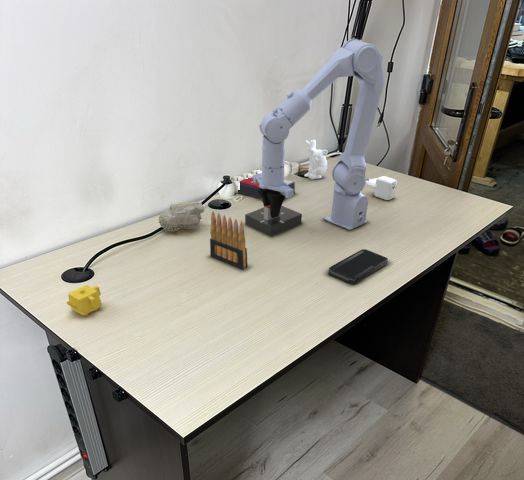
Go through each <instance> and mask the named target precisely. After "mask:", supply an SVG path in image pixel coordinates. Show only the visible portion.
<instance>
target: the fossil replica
mask: <svg viewBox="0 0 524 480" xmlns="http://www.w3.org/2000/svg"><path fill="white" fill-rule="evenodd" d="M204 212H205V206H204V205H203V203H202V202H199V201H191V202H188V201H187V202H184V201H183V202H179V203H178V202H177V203H171V204H170V206H169V209H166V210H165V211H163V212H162V213H161V214H160V215H159V216H158V224H159V226H160V227H161V228H162V229H163V230H165V231H166V232H168V233H169V232H172V233H174V232H178V231H181V230H182V229H185V230H188V231H189V230H195V229H197V228H198V227H199V226H200V224H201V220H202V216H201V214H203V213H204Z"/></svg>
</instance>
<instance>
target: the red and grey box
mask: <svg viewBox="0 0 524 480" xmlns="http://www.w3.org/2000/svg"><path fill="white" fill-rule="evenodd" d="M256 174H257V173H256ZM256 174H254V175H256ZM260 174H261V175H262V173H260ZM251 176H252V177H251ZM251 176H250V177H251V178H250V177H247V178H248V179H246V178H244V179H241V180H240V181H238V183H239V182H240V190H238V189H237V193H238V194H242V195H245V196H248V197H249V196H250V197H253V198H258V199H261V196H260V194H259V193H258V189H260V187H259V183H254V182H253V175H251ZM284 182H285V183H286V184H287V185H288V186H289V187H290V188H292V189H293V190H294V194H293V195H295V193H296V182H294V181H293V180H288V179H284Z"/></svg>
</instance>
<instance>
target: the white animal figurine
mask: <svg viewBox="0 0 524 480" xmlns="http://www.w3.org/2000/svg"><path fill="white" fill-rule="evenodd" d="M305 144H306V145H307V147H308V153H309V159H308V160H309V161H308V168H307V169H308V171H307V173H305V174H304V177H305V178H309V179H310V180H317V179H321V178H323V176H322V174H325V172H326V171H327V169H328V161H327V158H326V157H327V156H328V152H329V151H328V150H327V149H320V148H317V140H316V139H311V140H310V141H309V140H308V139H306V140H305Z"/></svg>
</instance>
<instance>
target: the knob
mask: <svg viewBox="0 0 524 480" xmlns="http://www.w3.org/2000/svg"><path fill="white" fill-rule="evenodd" d="M263 208H264V219H265V220H267V221H269V220H272V219H275V218H278V217H281V209H280V213H279V216H278V217H275V218H272V217H271V211H270V205H266V206H265V207H264V206H263Z"/></svg>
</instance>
